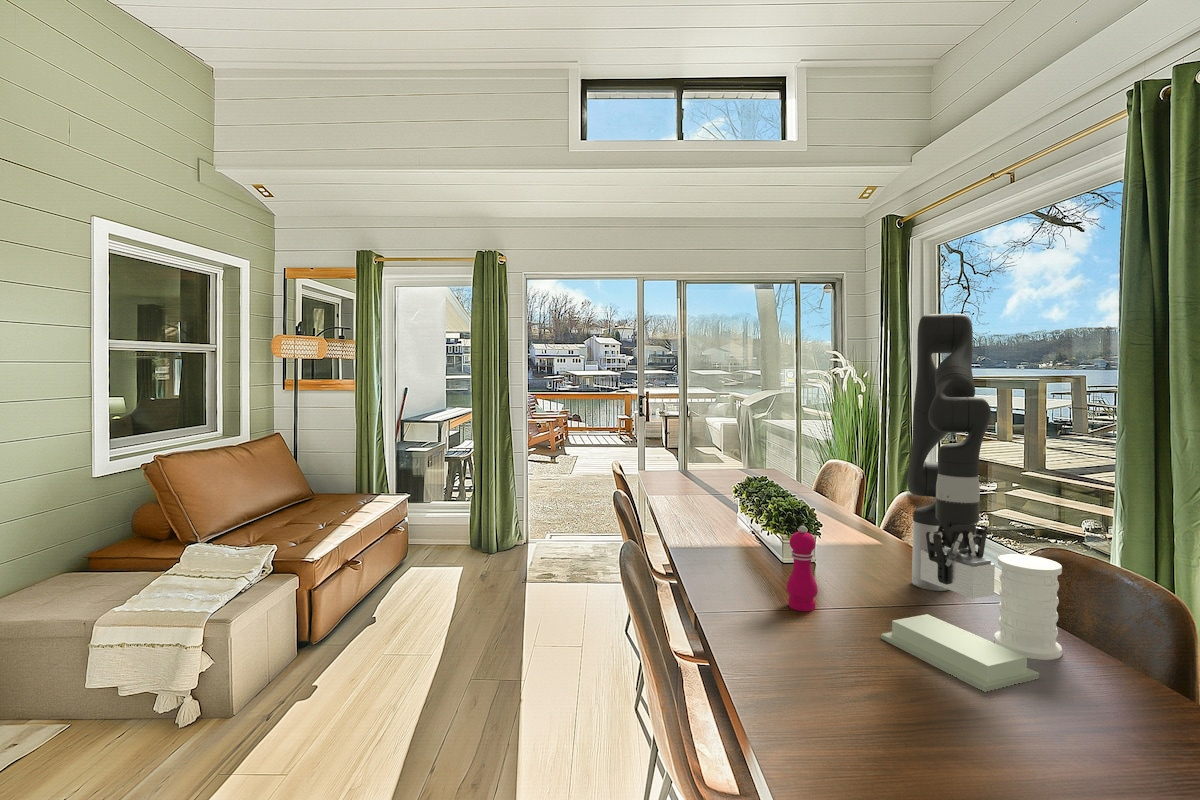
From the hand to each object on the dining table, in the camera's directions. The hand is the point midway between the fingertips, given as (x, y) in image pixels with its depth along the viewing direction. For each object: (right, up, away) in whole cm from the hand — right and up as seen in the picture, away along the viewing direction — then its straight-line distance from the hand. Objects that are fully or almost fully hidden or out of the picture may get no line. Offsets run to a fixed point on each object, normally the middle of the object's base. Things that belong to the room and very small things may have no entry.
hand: (955, 581), depth 123 cm
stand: (0, -15, +1) cm, 15 cm away
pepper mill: (-22, -15, +28) cm, 38 cm away
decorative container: (+18, -15, +5) cm, 24 cm away
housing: (0, -1, 0) cm, 1 cm away
